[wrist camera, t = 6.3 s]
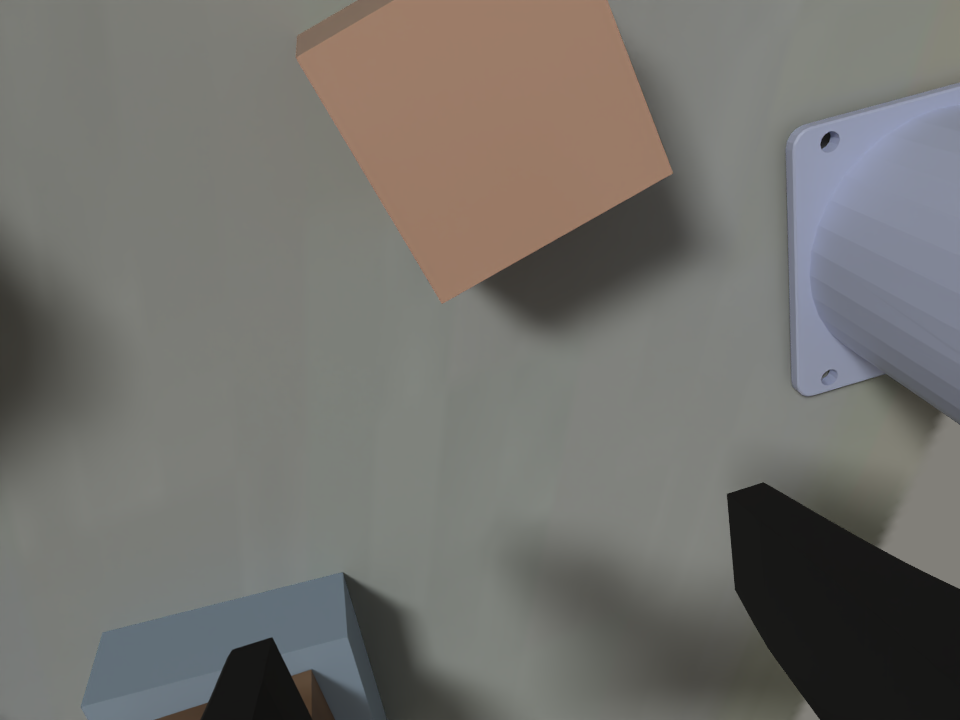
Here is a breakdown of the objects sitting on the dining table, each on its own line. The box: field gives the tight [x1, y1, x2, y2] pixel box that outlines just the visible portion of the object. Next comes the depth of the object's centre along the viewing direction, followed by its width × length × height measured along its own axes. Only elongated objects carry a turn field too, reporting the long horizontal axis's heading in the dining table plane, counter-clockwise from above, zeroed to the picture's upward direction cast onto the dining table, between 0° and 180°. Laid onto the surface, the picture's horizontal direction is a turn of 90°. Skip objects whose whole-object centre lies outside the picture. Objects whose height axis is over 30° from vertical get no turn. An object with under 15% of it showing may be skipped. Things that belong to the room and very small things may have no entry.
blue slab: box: [81, 572, 387, 720], centre depth 24 cm, size 7×7×3 cm
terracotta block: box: [296, 0, 673, 304], centre depth 16 cm, size 5×5×5 cm
